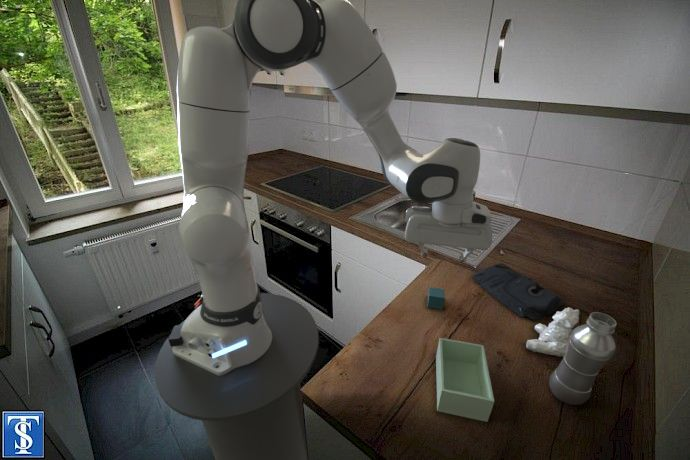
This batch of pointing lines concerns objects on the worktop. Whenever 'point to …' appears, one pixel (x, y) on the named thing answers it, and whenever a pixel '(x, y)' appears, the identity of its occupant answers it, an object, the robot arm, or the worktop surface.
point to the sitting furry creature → (555, 333)
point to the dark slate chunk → (517, 291)
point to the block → (436, 298)
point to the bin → (463, 380)
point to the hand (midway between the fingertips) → (442, 258)
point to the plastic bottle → (584, 359)
